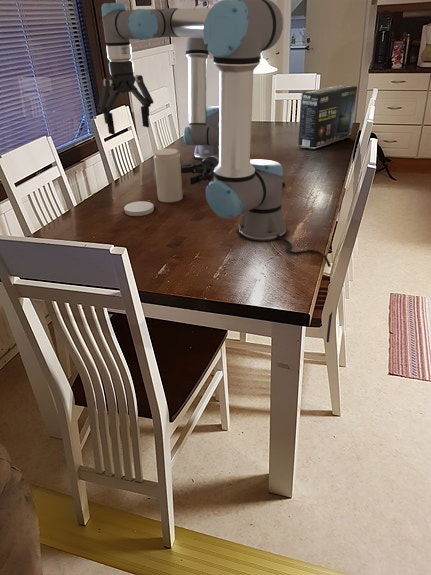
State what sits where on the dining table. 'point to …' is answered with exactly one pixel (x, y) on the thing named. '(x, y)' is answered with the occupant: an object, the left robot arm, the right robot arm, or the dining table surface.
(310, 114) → the router box
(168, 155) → the jar
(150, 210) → the lid
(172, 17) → the right robot arm
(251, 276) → the dining table surface
